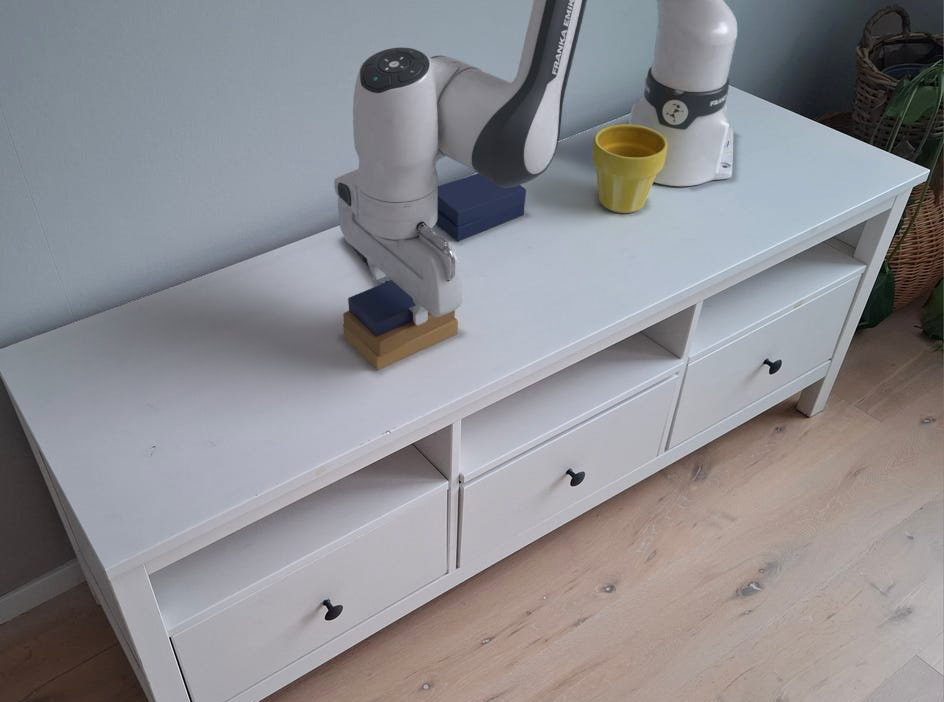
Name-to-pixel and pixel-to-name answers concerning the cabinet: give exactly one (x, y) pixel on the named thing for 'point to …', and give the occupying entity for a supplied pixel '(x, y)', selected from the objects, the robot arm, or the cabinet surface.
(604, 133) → the flower pot
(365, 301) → the navy book
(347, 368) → the cabinet surface
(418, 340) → the tan stack
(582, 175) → the cabinet surface
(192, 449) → the cabinet surface
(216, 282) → the cabinet surface
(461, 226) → the navy stack
